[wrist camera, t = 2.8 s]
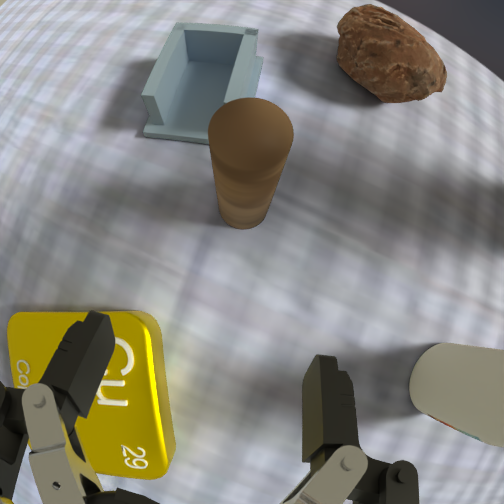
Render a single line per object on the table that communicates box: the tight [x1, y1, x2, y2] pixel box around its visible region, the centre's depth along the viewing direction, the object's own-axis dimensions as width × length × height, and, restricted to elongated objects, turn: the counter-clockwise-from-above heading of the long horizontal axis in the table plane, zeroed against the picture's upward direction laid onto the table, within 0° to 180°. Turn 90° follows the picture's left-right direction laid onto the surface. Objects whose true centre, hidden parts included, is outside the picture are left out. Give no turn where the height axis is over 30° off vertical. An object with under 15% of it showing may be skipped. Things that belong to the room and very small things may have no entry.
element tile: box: [7, 311, 176, 480], centre depth 23 cm, size 15×15×5 cm
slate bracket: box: [141, 23, 264, 144], centre depth 27 cm, size 12×10×6 cm
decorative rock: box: [337, 4, 447, 103], centre depth 27 cm, size 13×11×10 cm
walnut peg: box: [208, 97, 294, 229], centre depth 22 cm, size 4×4×13 cm
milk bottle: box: [409, 343, 504, 447], centre depth 17 cm, size 8×8×20 cm
